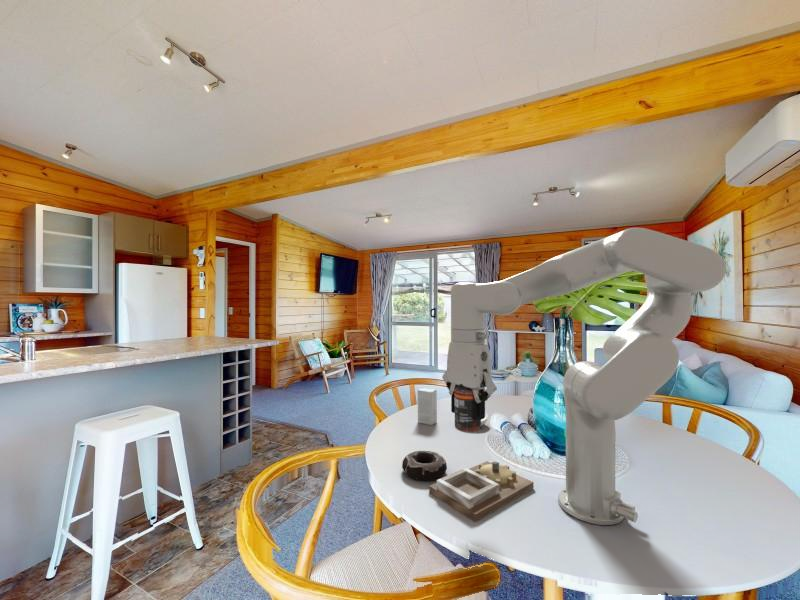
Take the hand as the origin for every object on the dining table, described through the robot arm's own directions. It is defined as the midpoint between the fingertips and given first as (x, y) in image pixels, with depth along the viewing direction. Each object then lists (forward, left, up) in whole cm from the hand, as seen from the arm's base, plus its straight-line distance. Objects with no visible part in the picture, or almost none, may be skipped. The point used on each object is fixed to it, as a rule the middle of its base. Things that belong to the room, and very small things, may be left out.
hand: (467, 414), depth 82 cm
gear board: (0, -5, -19) cm, 20 cm away
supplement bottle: (0, 0, -3) cm, 3 cm away
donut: (+15, 0, -19) cm, 25 cm away
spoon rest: (+36, -41, -20) cm, 58 cm away
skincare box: (+43, -26, -19) cm, 54 cm away
